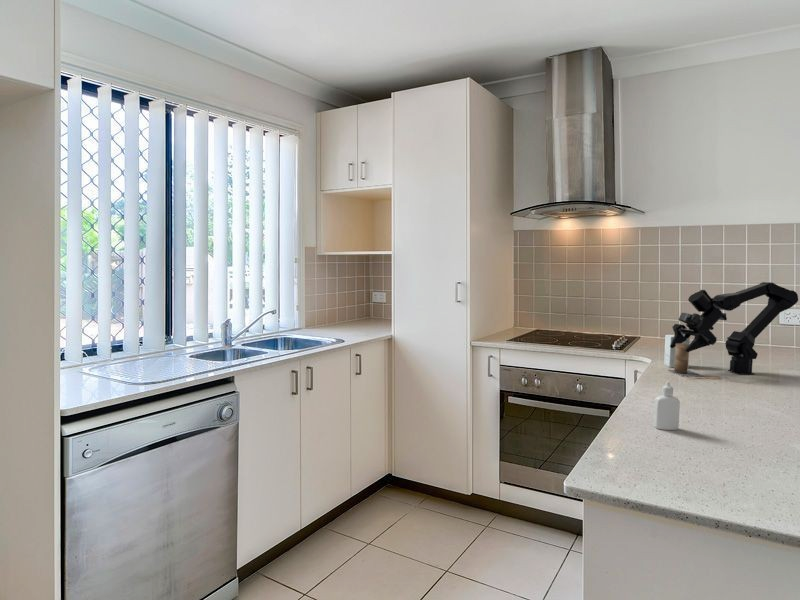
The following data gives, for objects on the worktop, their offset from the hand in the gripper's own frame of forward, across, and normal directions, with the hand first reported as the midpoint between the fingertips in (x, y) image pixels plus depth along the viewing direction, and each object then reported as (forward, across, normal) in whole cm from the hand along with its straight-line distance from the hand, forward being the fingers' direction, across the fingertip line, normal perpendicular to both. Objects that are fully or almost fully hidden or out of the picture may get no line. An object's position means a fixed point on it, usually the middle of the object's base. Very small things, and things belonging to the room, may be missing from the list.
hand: (678, 349), depth 199 cm
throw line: (+4, +8, +10) cm, 13 cm away
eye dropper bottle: (+39, +62, -25) cm, 77 cm away
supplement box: (0, -14, +13) cm, 19 cm away
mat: (+4, 0, +9) cm, 10 cm away
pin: (+5, 0, +7) cm, 9 cm away
